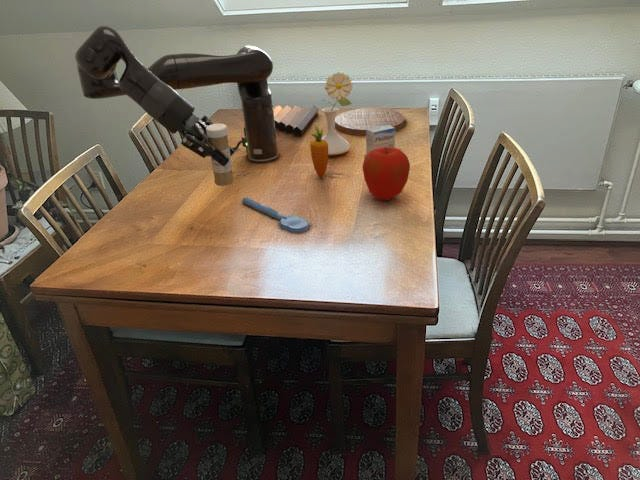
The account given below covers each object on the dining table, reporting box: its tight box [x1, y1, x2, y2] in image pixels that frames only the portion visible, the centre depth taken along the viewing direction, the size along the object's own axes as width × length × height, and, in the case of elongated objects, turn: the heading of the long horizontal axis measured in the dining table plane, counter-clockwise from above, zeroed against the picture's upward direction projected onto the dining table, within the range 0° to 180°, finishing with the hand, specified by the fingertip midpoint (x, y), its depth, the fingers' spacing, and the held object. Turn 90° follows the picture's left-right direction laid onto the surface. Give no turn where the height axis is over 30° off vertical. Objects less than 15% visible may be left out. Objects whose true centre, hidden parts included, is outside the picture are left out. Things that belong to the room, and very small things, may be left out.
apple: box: [361, 147, 411, 201], centre depth 134 cm, size 12×12×14 cm
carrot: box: [309, 125, 329, 179], centre depth 147 cm, size 5×5×15 cm
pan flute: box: [273, 104, 319, 137], centre depth 194 cm, size 25×3×25 cm
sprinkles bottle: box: [206, 123, 235, 187], centre depth 118 cm, size 5×5×13 cm
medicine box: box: [365, 125, 396, 156], centre depth 161 cm, size 8×4×9 cm, turn 117°
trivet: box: [335, 107, 405, 136], centre depth 190 cm, size 25×25×2 cm
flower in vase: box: [322, 71, 354, 156], centre depth 161 cm, size 13×11×25 cm
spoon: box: [241, 196, 309, 234], centre depth 132 cm, size 24×5×2 cm, turn 45°
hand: (229, 158), depth 118 cm, fingers closed on sprinkles bottle, 4 cm apart
